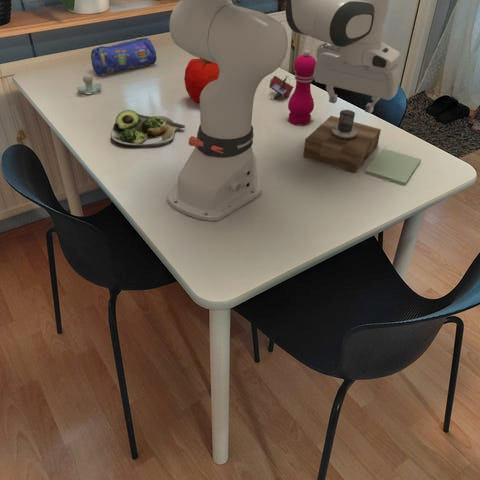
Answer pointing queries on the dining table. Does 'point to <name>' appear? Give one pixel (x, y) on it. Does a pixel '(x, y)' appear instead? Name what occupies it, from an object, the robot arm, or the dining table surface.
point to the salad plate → (142, 129)
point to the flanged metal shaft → (345, 126)
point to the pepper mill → (302, 90)
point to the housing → (341, 146)
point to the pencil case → (123, 56)
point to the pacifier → (89, 85)
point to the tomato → (199, 76)
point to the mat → (393, 166)
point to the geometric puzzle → (281, 87)
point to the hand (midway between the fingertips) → (350, 106)
